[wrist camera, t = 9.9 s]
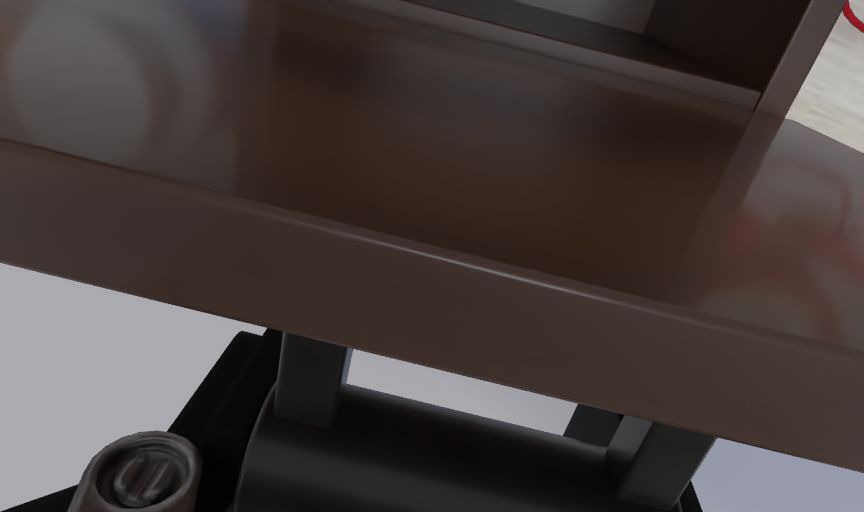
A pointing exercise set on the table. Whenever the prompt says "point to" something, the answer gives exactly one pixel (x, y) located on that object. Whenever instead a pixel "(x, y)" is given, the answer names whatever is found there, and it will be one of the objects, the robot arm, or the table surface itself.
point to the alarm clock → (852, 17)
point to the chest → (651, 39)
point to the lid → (443, 244)
